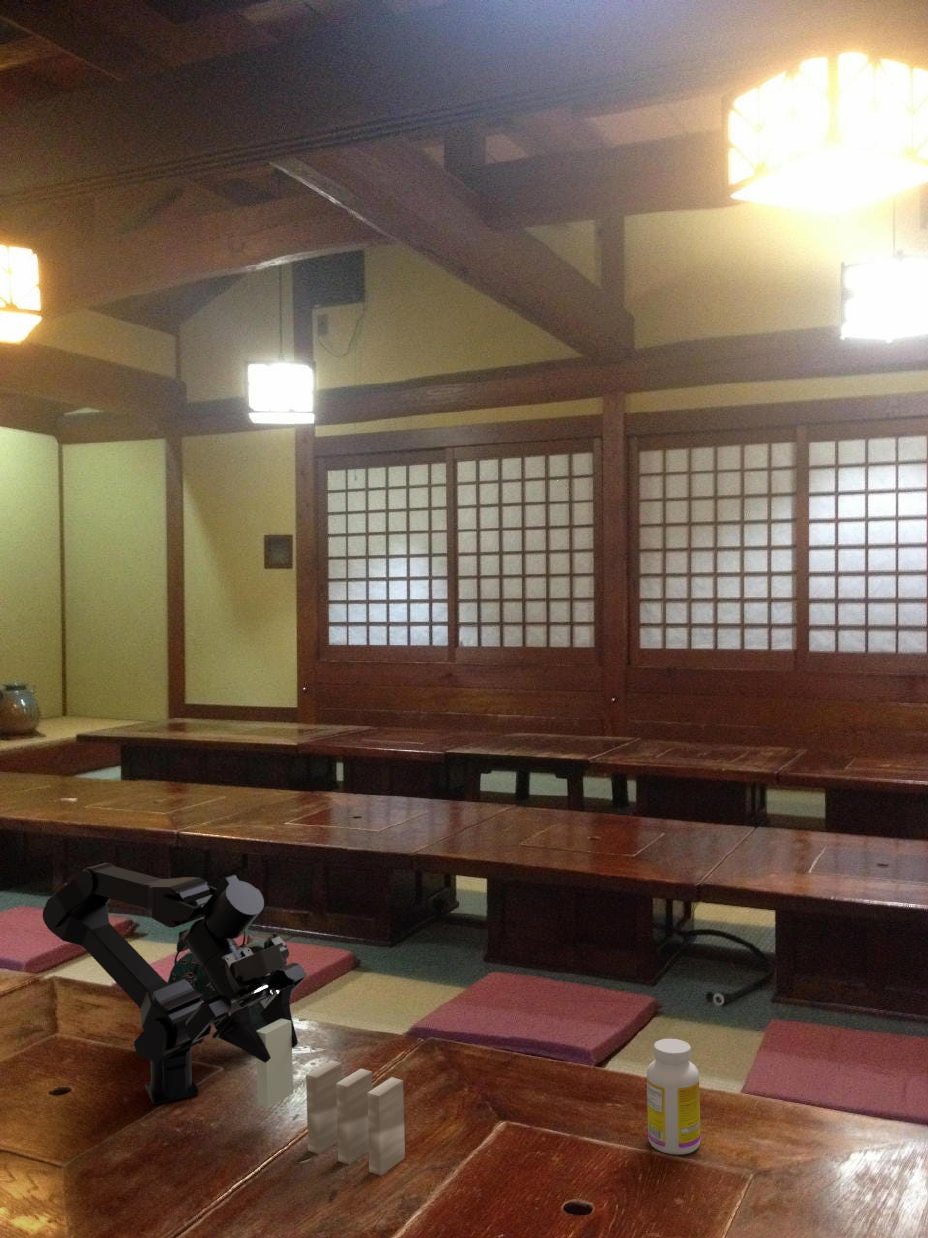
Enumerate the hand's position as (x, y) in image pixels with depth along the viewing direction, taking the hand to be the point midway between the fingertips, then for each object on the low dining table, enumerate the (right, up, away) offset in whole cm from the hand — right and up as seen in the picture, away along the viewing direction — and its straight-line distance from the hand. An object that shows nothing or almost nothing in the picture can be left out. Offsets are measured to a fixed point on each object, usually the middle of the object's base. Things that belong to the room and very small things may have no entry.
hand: (282, 1053), depth 149 cm
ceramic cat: (-14, -10, +29) cm, 33 cm away
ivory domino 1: (+6, -10, -4) cm, 13 cm away
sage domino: (-1, -7, +1) cm, 7 cm away
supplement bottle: (+51, -10, -5) cm, 53 cm away
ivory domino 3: (+15, -10, -9) cm, 20 cm away
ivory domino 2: (+10, -10, -6) cm, 16 cm away
